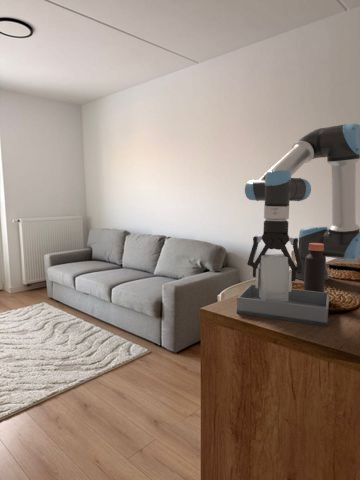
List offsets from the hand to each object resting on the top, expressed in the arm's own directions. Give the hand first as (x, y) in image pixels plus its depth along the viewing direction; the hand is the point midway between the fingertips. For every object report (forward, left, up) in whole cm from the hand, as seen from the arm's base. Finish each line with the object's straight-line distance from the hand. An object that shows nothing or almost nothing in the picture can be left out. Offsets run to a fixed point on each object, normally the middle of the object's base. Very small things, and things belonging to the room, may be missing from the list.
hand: (273, 289), depth 108 cm
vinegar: (-17, +11, -7) cm, 22 cm away
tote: (0, +3, -7) cm, 7 cm away
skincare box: (0, 0, -4) cm, 4 cm away
